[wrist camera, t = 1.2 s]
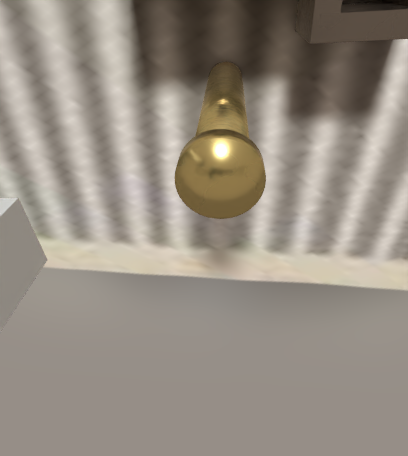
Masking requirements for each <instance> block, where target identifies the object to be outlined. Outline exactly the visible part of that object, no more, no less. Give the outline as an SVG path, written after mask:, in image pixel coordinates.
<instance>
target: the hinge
mask: <svg viewBox="0 0 408 456" xmlns="http://www.w3.org/2000/svg"><path fill="white" fill-rule="evenodd" d="M295 31H296V32H297V33H298V34H299V35H300V36H302V37H303V38H304V39H305V40H306V41H308V42H309V43H310V44H315V43H334V42H354V41H374V40H393V39H408V0H382V2H372V3H355V4H342V0H298V5H297V15H296V26H295Z"/></svg>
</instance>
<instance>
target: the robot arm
mask: <svg viewBox="0 0 408 456" xmlns="http://www.w3.org/2000/svg"><path fill="white" fill-rule="evenodd" d="M46 261H47V258H46V256H45V254H44V252H43V249H42V247H41V245H40V243H39V241H38V239H37V237H36V234H35V232H34V230H33V228H32V226H31V224H30V222H29V220H28V217H27V215H26V213H25V211H24V209H23V207H22V205H21V202H20V200H19V198H0V332H1V331H2V329H3V328H4V326H5V324H6V323H7V321H8V320H9V318H10V317H11V315H12V314H13V312H14V310H15V309H16V307H17V306H18V305H19V303H20V301H21V300H22V298H23V297H24V295H25V294H26V292H27V291H28V289H29V288H30V286H31V284H32V283H33V281H34V280H35V278H36V277H37V275H38V274H39V272H40V271H41V269H42V268H43V266H44V264H45V263H46Z"/></svg>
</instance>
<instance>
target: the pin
mask: <svg viewBox="0 0 408 456" xmlns="http://www.w3.org/2000/svg"><path fill="white" fill-rule="evenodd" d="M265 182H266V175H265V169H264V163H263V158H262V155H261V153H260V151H259V149H258V148H257V146H256V145H255V144H254V143H253V142H252V141H251V140H250V139H249V134H248V125H247V116H246V107H245V98H244V89H243V80H242V74H241V71H240V70H239V68H238V67H237V66H236V65H234V64H233V63H230V62H221V63H219V64H217V65H216V66H214V67H213V69H212V70H211V72H210V74H209V78H208V82H207V87H206V91H205V96H204V100H203V105H202V109H201V114H200V118H199V123H198V128H197V132H196V136H195V137H194V138H192V139H191V140H190V141H189V142H188V143H187V144H186V145H185V147H184V148H183V150H182V152H181V154H180V157H179V160H178V164H177V167H176V171H175V185H176V189H177V192H178V194H179V196H180V198H181V199H182V201H183V202H184V203H185V204H186V205H187V206H188V207H189V208H190V209H192V210H193V211H194V212H196V213H198V214H200V215H203V216H206V217H210V218H216V219H225V218H232V217H235V216H238V215H241V214H243V213H245V212H246V211H248V210H249V209H251V208H252V207H253V206H254V205H255V204H256V203H257V202H258V201H259V199H260V197H261V196H262V193H263V191H264V188H265Z"/></svg>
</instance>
